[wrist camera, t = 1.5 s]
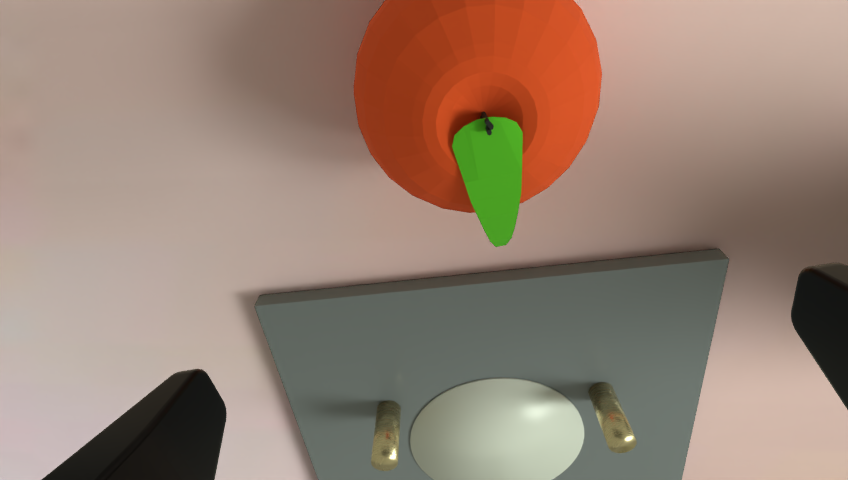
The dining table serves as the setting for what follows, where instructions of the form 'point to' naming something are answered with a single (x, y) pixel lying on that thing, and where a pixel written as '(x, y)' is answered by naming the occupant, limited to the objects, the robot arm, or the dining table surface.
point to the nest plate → (502, 368)
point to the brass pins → (600, 396)
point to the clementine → (477, 100)
